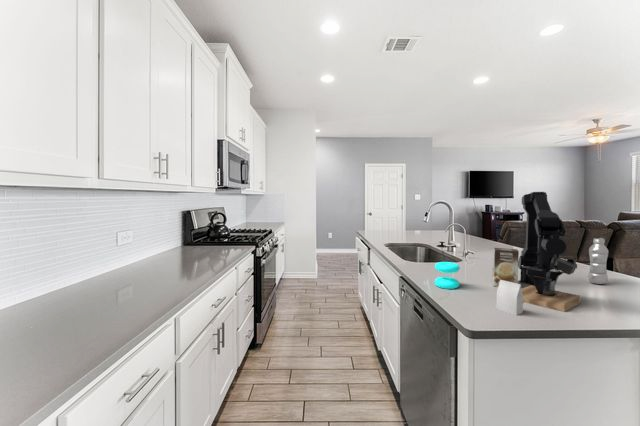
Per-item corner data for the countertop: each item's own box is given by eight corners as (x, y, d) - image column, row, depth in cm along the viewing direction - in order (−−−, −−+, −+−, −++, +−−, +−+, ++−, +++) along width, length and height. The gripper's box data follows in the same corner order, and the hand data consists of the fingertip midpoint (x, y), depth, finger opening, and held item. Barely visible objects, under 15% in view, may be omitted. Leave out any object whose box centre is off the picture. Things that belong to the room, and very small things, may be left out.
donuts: (441, 260, 144) (463, 263, 137) (441, 282, 145) (463, 286, 137) (430, 263, 138) (452, 267, 130) (430, 286, 138) (452, 291, 131)
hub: (513, 299, 120) (513, 290, 120) (530, 292, 127) (530, 284, 127) (564, 311, 106) (564, 302, 106) (579, 303, 114) (579, 294, 114)
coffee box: (493, 286, 137) (493, 249, 136) (492, 282, 143) (492, 247, 142) (517, 289, 133) (518, 251, 132) (515, 285, 139) (516, 248, 138)
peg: (549, 304, 114) (550, 280, 114) (537, 301, 117) (537, 278, 117) (554, 301, 117) (555, 278, 116) (542, 299, 120) (542, 276, 119)
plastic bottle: (611, 286, 136) (613, 239, 135) (593, 285, 137) (595, 239, 136) (601, 282, 142) (603, 237, 141) (584, 281, 143) (585, 237, 142)
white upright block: (516, 315, 104) (517, 285, 103) (496, 309, 110) (496, 280, 109) (522, 313, 106) (523, 283, 105) (502, 307, 112) (503, 279, 111)
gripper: (563, 256, 104) (561, 303, 105) (584, 250, 114) (582, 293, 115) (526, 251, 113) (525, 294, 114) (548, 246, 124) (547, 286, 125)
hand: (546, 292), depth 117 cm, fingers open, 9 cm apart
